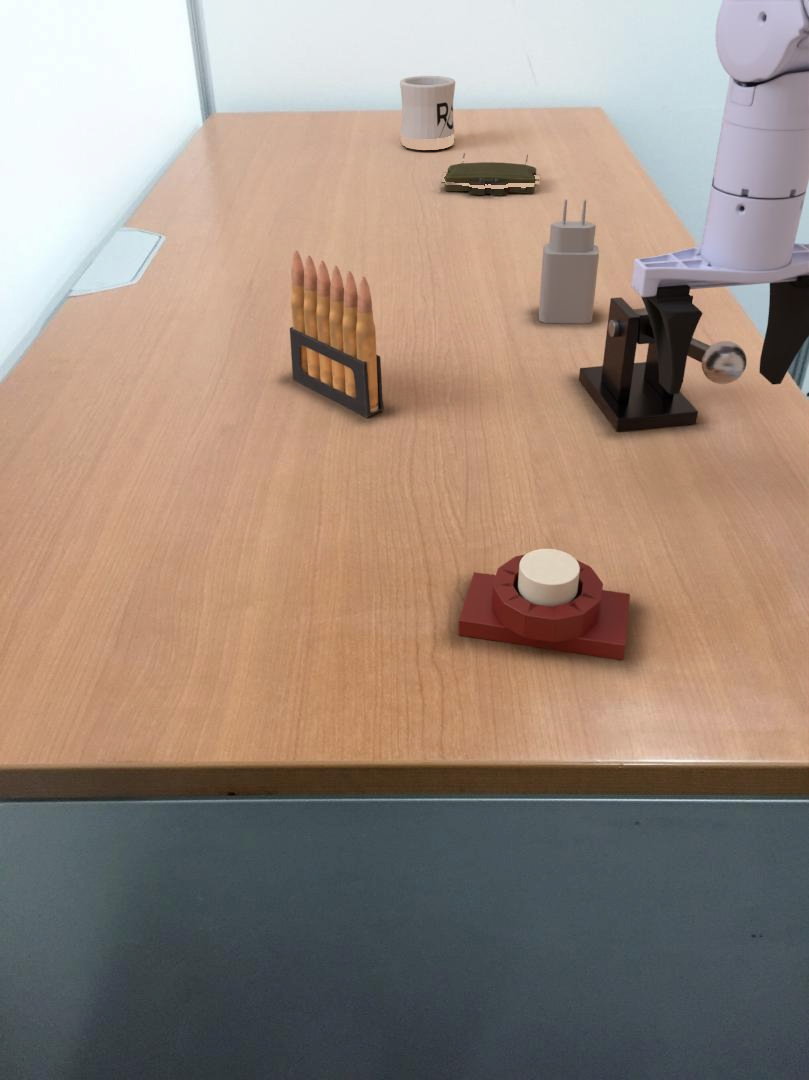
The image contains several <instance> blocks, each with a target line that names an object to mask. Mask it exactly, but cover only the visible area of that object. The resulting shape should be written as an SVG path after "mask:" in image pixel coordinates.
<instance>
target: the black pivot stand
mask: <svg viewBox="0 0 809 1080" xmlns="http://www.w3.org/2000/svg"><path fill="white" fill-rule="evenodd" d="M609 301H610V302H609V310H608V318H607V325H606V335H605V342H604V353H603V361H602V365H599V366H598V365H597V366H588V367H579V374H578V381H579V382H580V383H581V385H582V386H583V388H584V389H585V390H586V391H587V394H589V396H590V397H591V398H592V401H594V402H595V404H596V405H597V406H598V408H599V409H600V410H601V412H602V413H603V415H604V417H605V418H606V419H607V420H608V422H609V423H610V424H611V426H612V427H613V429H614V430H615V431H616V432H617V433H618V432H628V431H639V430H647V429H649V430H650V429H659V428H668V427H669V428H670V427H678V426H687V425H688V426H689V425H696V424H697V421H698V420H697V419H698V415H699V411H698V410H697V408H696V407H695V406H694V405H693V404H692V403H691V402H690V400H688V399H687V397H686V396H685V395H684V394H683V393H682V391H680V392H679V394H669V393H668V392H667V391H666V390H665V389H664V388H663V386H662V385H661V384H660V383H659V366H658V356H657V349H656V343H649V344H647V345H648V346H647V352H646V360H645V361H643V362H636V361H635V359H636V353H637V345H638V343H637V339H638V331H639V324H640V316H639V315H638V314H637V313H636V312H635V311H634V310H633V309H634V308H632V307H631V306H630V304H629V303H628V302H627V301H626V300H624V298H623V297H621V296H620V297H611V298H610V299H609Z"/></svg>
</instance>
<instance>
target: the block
mask: <svg viewBox="0 0 809 1080" xmlns="http://www.w3.org/2000/svg"><path fill="white" fill-rule="evenodd" d="M526 554H527V553H525V554H520V555H516V556H513V557H512V558H511V559H509V560H508V561H506V562H505V563H504V564H502V565H500V566H499V567H498V568H497V570H496V574H491V573H490V574H489V573H484V572H483V573H482V572H475V571H474V572H473V573H472V577H471V580H470V583H469V587H468V589H467V593H466V595H465V599H464V602H463V606H462V609H461V613H460V614H459V615H460V616H459V619H458V635H459V636H464V637H470V638H476V639H482V640H489V641H495V642H503V643H509V644H514V645H515V644H516V645H523V646H529V647H535V648H542V649H548V650H554V651H561V652H569V653H575V654H581V655H586V656H587V655H588V656H595V657H601V658H606V659H607V658H608V659H615V660H621V661H623V660H624V657H625V651H626V644H627V632H628V621H629V611H630V599H631V594H630V593H627V592H618V591H612V590H605V589H603V588H604V587H603V586H604V583H603V581H602V580H601V578H600V577H599V576H598V574H597V573H596V572H595V570H594V569H593V567H592V566H590V565H588V564H586V563H584V562H582V561H581V560H578V559H576V560H577V562H578V564H579V566H580V573H579V582H578V590H577V595H576V596H575V598H574V599H573V600H572V601H571V602H569V603H567V604H563V605H558V606H553V607H552V606H545V605H539V604H533V603H532V602H530V601H528V600H526V599H525V598H523V597H522V595H521V594H520V592H519V590H518V578H519V565H520V561H521V559H522V558H523V556H524V555H526Z"/></svg>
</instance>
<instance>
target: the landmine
mask: <svg viewBox="0 0 809 1080" xmlns="http://www.w3.org/2000/svg"><path fill="white" fill-rule="evenodd" d="M465 156H466V153H465V152H464V153H463V156H462V159H463V158H464V159H465ZM528 157H529V154H526V157H525V158H526V159H525V163H526V162H527V163H528ZM446 173H447V174H446V176H445V177H444V179H445V181H446V182H454V183H469V184H470V185H484V186H485V184H487V185H488V184H491V185H506V184H508V183H535V181H539V179H535V176H534V175H537V167H535V166H532V165H528V164H527V165H526V164H523V163H511V162H493V161H492V162H491V161H490V162H489V161H488V162H486V161H485V162H484V161H482V162H465V163H464V162H463V163H462V162H461V163H455V164H451V165H449V166H448V167H447V172H446ZM440 184H444V190H445V191H446V192H468V194H470V195H472V196H473V195H474V196H475V195H476V196H485V194H486V195H487V194H488V195H490V196H500V197H501V196H503V197H504V196H507V195H508V194H511V193H515V194H516V193H517V194H534V193H535V188H536V185H535V186H534V187H526V188H521V187H508V188H504V189H491V188H485V189H478V188H472V187H469V186H462V185H446V184H445V182H440Z"/></svg>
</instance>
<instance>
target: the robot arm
mask: <svg viewBox="0 0 809 1080" xmlns="http://www.w3.org/2000/svg"><path fill="white" fill-rule="evenodd" d="M715 47H716V53H717V55H718V59H719V62H720V64H721V66H722V68H723V70H724V71H725V72H726V73H727V75H728V76H729V78H728V85H727V90H726V96H725V102H724V109H723V113H722V114H723V115H722V120H721V124H720V125H721V126H720V132H719V138H718V144H717V149H716V154H715V161H714V166H713V167H714V168H713V174H712V178H711V185H710V192H709V198H708V203H707V209H706V216H705V221H704V227H703V234H702V239H701V245H698V246H694V247H689V248H685V249H681V250H676V251H673V252H668V253H664V254H659V255H654V256H648V257H639V258H635V259H634V261H633V268H632V277H631V284H630V287H631V288H632V289H633V290H634V291H635V292H636V293H637V294H638V295H639V296H640V298H641V300H642V302H643V304H644V308H646V310H647V313H648V316H649V319H650V323H651V326H652V330H653V334H654V338H655V343H656V349H657V356H658V366H659V383H660V384H661V385H662V386H663V388H664V389H665V390H666V391H667V392H668V393H669V394H679V392H681V389H682V386H683V384H684V378H685V371H686V367H687V361H688V360H687V359H688V356H687V354H688V350H689V347H690V344H691V340H692V338H694V335H695V332H696V329H697V327H698V325H699V322H700V320H701V318H702V316H703V312H702V311H701V310H700V309H699V308H698V307H697V306H696V305H695V304H694V303H693V300H694V295H690V292H691V290H701V289H714V288H724V287H737V286H738V287H739V286H750V285H762V284H763V285H765V284H769V300H768V301H769V302H768V303H769V304H768V316H767V323H766V324H767V325H766V331H765V334H764V340H763V344H762V349H761V353H760V359H759V374H760V375H761V376H762V377H764V378H765V380H767V381H768V382H769V383H770V384H771V385H775V386H776V385H781V384H782V382H783V380H784V378H785V377H786V375H787V373H788V371H789V369H790V368H791V365H792V363H794V360H795V358H796V357H797V355H798V353H799V351H800V350H801V348H802V347H803V346H804V344H805V342H807V341H806V340H808V338H809V243H799V242H798V243H797V242H796V239H797V233H798V230H799V226H800V221H801V216H802V212H803V208H804V204H805V198H806V194H807V189H808V185H809V0H722V1H721V4H720V7H719V9H718V13H717V18H716V24H715Z"/></svg>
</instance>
